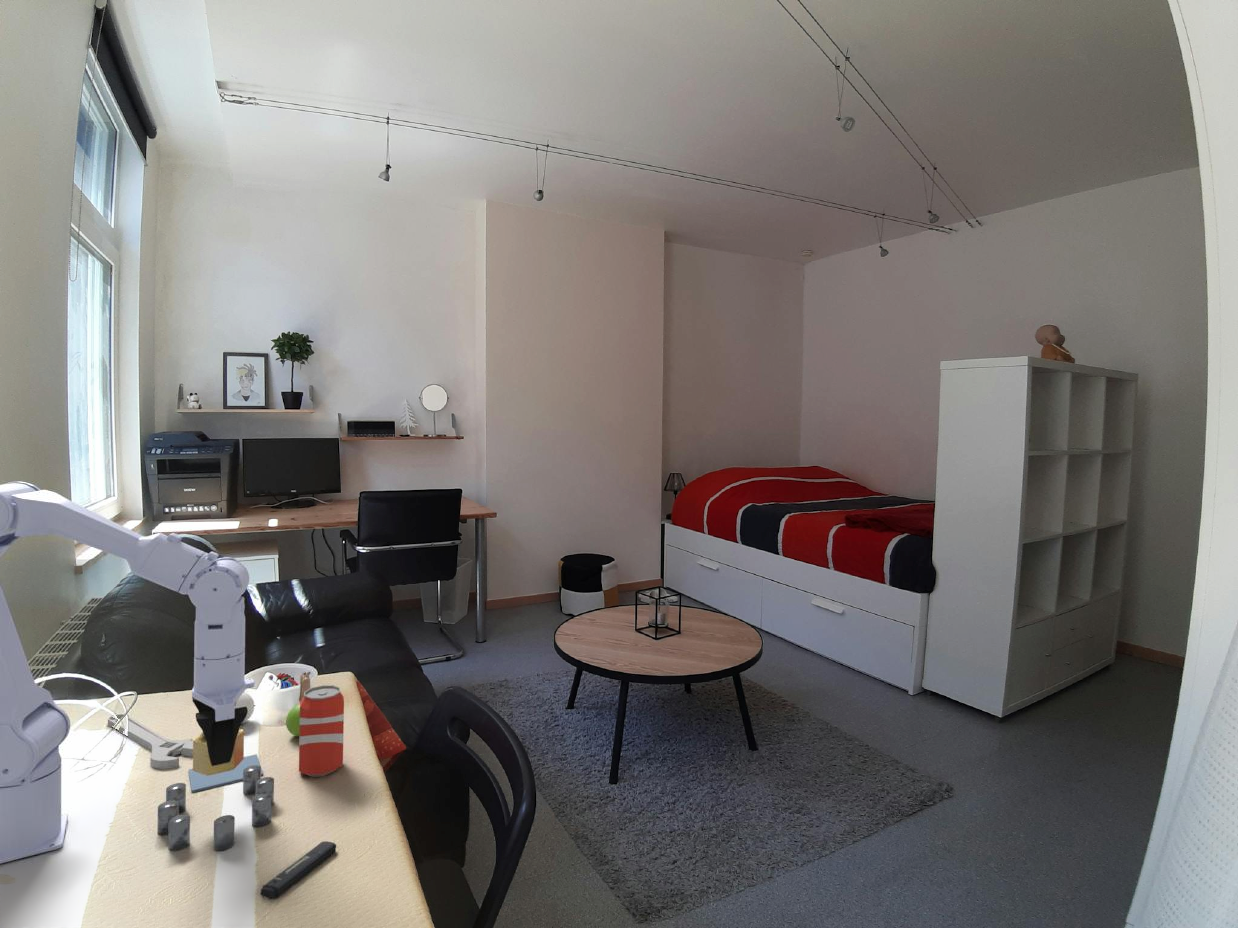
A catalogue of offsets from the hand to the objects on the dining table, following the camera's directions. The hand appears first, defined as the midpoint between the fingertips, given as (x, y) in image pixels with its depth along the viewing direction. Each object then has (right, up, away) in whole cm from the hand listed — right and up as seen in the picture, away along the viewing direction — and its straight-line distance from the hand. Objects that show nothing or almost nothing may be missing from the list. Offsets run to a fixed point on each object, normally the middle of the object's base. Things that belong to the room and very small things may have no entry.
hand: (218, 754), depth 87 cm
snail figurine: (0, -8, +24) cm, 25 cm away
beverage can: (+7, -8, +13) cm, 17 cm away
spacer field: (+1, -8, -1) cm, 9 cm away
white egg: (-15, -7, +28) cm, 33 cm away
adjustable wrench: (-24, -7, +21) cm, 32 cm away
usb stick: (+16, -10, -10) cm, 21 cm away
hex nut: (0, -1, 0) cm, 1 cm away
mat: (-6, -8, +11) cm, 15 cm away
